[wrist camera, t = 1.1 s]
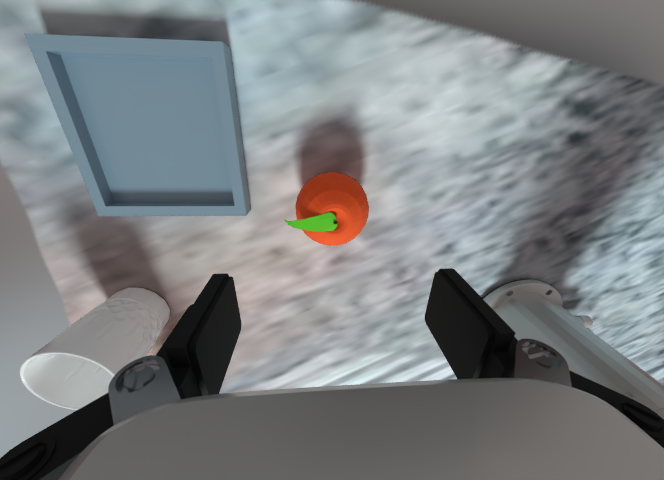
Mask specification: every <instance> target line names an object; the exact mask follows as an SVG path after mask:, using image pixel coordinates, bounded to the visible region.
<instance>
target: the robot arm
mask: <svg viewBox="0 0 664 480" xmlns="http://www.w3.org/2000/svg"><path fill="white" fill-rule="evenodd" d="M425 322H426V324H427V326H428V328H429V329H430V331H431V333H432V335H433V336H434V338H435V340H436V342H437V343H438V345H439V347H440V349H441V350H442V352H443V354H444V356H445V357H446V359H447V361H448V363H449V365H450V366H451V368H452V370H453V372H454V373H455V375H456V377H457V379H454V380H434V381H415V382H396V383H378V384H360V385H343V386H326V387H310V388H294V389H278V390H262V391H249V392H237V393H224V394H219V392H220V389H221V386H222V383H223V380H224V377H225V374H226V371H227V368H228V365H229V363H230V360H231V357H232V354H233V351H234V348H235V345H236V342H237V339H238V337H239V334H240V331H241V319H240V313H239V308H238V302H237V297H236V291H235V286H234V280H233V277H229V275H228V274H213V275H212V277H211V278H210V280H209V281H208V283H207V284H206V286H205V287H204V289H203V290H202V292H201V294H200V295H199V297H198V298H197V300H196V301H195V303H194V304H192V305H190V306H189V307H188V309H187V310H186V312H185V313H184V315H183V316H182V317H181V319H180V320H179V322H178V323H177V325H176V326H175V328H174V329H173V331H172V332H171V334H170V335H169V337H168V338H167V340H166V341H165V343H164V344H163V346H162V347H161V349H160V350H159V352H158V353H157V355H156V356H152V355H150V356H145V357H141V358H139V359H136V360H134V361H132V362H131V363H129V364H127V365H125V366H124V367H123V368H122V369H120V370H119V371H118V372H117V373H116V374H115V376H114V377H113V378H112V380H111V382H110V383H109V388H108V393H106V394H105V395H103V396H101V397H99V398H98V399H96V400H94V401H93V402H91V403H89V404H87V405H86V406H84V407H82V408H80V409H79V410H77V411H75V412H73V413H72V414H70V415H68V416H67V417H65V418H63V419H61V420H60V421H58V422H56V423H54V424H53V425H51V426H49V427H47V428H46V429H44V430H42V431H41V432H39V433H37V434H35V435H34V436H32V437H30V438H28V439H27V440H25V441H23V442H22V443H20V444H19V445H17V446H16V447H14V448H13V449H11V450H10V451H9V452H7V453H6V454H5V455H4V456H3V457H1V459H0V480H664V385H662V384H661V383H660V382H658V381H657V380H655V379H654V378H653V377H651V376H650V375H649V374H647V373H646V372H645V371H643V370H642V369H641V368H639V367H638V366H637V365H635V364H634V363H633V362H631V361H630V360H629V359H627V358H626V357H625V356H623V355H622V354H621V353H619V352H618V351H617V350H615V349H614V348H613V347H611V346H610V345H609V344H607V343H606V342H605V341H603V340H602V339H601V338H599V337H598V336H597V335H595V334H594V333H593V332H592V331H591V330H590V329H589V328H587V327H585V326H591V325H592V323H593V322H592V319H591V318H590V317H589V316H574V315H572V314H571V313H570V312H568V311H567V310H566V309H564V308H563V302H562V298H561V296H560V294H559V292H558V291H557V290H556V289H555V288H553V287H552V286H550V285H549V284H547V283H545V282H542V281H539V280H520V281H514V282H511V283H508V284H505V285H503V286H501V287H499V288H497V289H496V290H494V291H493V292H491V293H489V294H488V295H487V296H486V297H485V298H484V299H482V298H481V297H480V296H479V295H478V294H477V293H476V291H475V290H474V289H473V288H472V287H471V286H470V285H469V284H468V283H467V282H466V281H465V280H464V279H463V278H462V277H461V276H460V275H459V274H458V273H457V272H456V271H455V270H454V269H439V271H438V272H436V273H435V275H434V279H433V283H432V288H431V292H430V296H429V300H428V305H427V309H426V313H425Z"/></svg>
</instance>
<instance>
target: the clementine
mask: <svg viewBox="0 0 664 480" xmlns="http://www.w3.org/2000/svg"><path fill="white" fill-rule="evenodd" d="M368 212H369V206H368V201H367V197H366V194H365V192H364V190H363V188H362V186H361V185H360V184H359V183H358V182H357V181H356V180H355V179H353V178H351V177H349V176H347V175H345V174H341V173H337V172H326V173H323V174H319V175H317V176H315V177H314V178H312V179H310V180H309V181H308V182H307V183H306V184H305V185H304V186H303V188H302V189H301V191H300V193H299V195H298V197H297V202H296V216H297V220H296V221H286V220H285V222H286V223H287V224H288V225H290V226H292V227H294V228H298V229H302V230H303V231H304V233H305V234H306V235H307V236H309V237H310V238H311V239H312V240H314V241H316V242H318V243H321V244H324V245H329V246H331V245H341V244H344V243H347V242H349V241H350V240H352V239H354V238H355V237H356V236H357V235H358V234H359V233H360V232H361V230H362V229H363V227H364V226H365V224H366V221H367V218H368Z"/></svg>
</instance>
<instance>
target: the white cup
mask: <svg viewBox="0 0 664 480" xmlns="http://www.w3.org/2000/svg"><path fill="white" fill-rule="evenodd" d="M169 317H170V309H169V307H168V305H167V303H166V301H165V300H164V299H163V298H161V297H160V296H159V295H157V294H156V293H155V292H152V291H149V290H147V289H144V288H131V287H129V288H126V289H123V290H121V291H118V292H116V293H115V294H114V295H112V296H111V297H110V298H109V299H107V300H106V301H105V302H104V303H102V304H100V305H99V306H97V307H96V308H94V309H93V310H91V311H90V312H89V313H88V314H86V315H85V316H83V317H82V318H80V319H79V320H78V321H76V322H75V323H74V324H72V325H71V326H70V327H68V328H67V329H66V330H65V331H64V332H62V333H61V334H59V335H58V336H57V337H55V338H54V339H53V340H52V341H50V342H49V343H48V344H46V345H45V346H44V347H42V348H41V349H40V350H38V351H37V352H36V353H34V354H33V355H32V356H31V357H29V358H28V359H26V361H24V363H23V364H22V365H21V368H20V377H21V380H22V382H23V384H24V385H25V386H26V388H28V390H29V391H30V392H32V393H33V394H34V395H36V396H37V397H39V398H40V399H42V400H44V401H46V402H48V403H51V404H53V405H56V406H59V407H63V408H67V409H73V410H79V409H80V408H82V407H84V406H86V405H87V404H89V403H91V402H93V401H94V400H96V399H98V398H99V397H101V396H103V395H105V394H106V393H108V388H109V383H110V382H111V380H112V378H113V377H114V376H115V374H116V373H117V372H118V371H119V370H120V369H122V368H123V367H124V366H125V365H127V364H129V363H131V362H132V361H134V360H136V359H139V358H141V357H145V356H147V354H148V353H149V351H150V349H151V348H152V346H153V345H154V343H155V342H156V340H157V338H158V335H159V334H160V332H161V331H162V329H163V328H164V326H165V325H166V323H167V322H168V320H169Z"/></svg>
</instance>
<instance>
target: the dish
mask: <svg viewBox="0 0 664 480" xmlns="http://www.w3.org/2000/svg"><path fill="white" fill-rule="evenodd" d="M25 37H26V39H27V42H28V44H29V47H30V49H31V51H32V54H33V56H34V59H35V61H36V64H37V66H38V69H39V71H40V74H41V76H42V79H43V81H44V84H45V86H46V88H47V91H48V93H49V96H50V98H51V101H52V103H53V106H54V108H55V111H56V113H57V116H58V118H59V120H60V123H61V125H62V128H63V130H64V133H65V135H66V138H67V140H68V143H69V145H70V148H71V150H72V153H73V155H74V157H75V160H76V162H77V165H78V167H79V170H80V172H81V175H82V177H83V180H84V182H85V185H86V187H87V189H88V192H89V194H90V197H91V199H92V202H93V204H94V207H95V209H96V212H97V214H98V216H246V215H247V214H248V213H249V211H250V210H251V205H250V198H249V190H248V182H247V174H246V166H245V158H244V150H243V142H242V135H241V127H240V119H239V111H238V103H237V95H236V87H235V79H234V71H233V64H232V56H231V49H230V48H229V47H228V46H227V45H226V44H225V43H224V42H220V41H195V40H171V39H147V38H122V37H98V36H73V35H49V34H25Z"/></svg>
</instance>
